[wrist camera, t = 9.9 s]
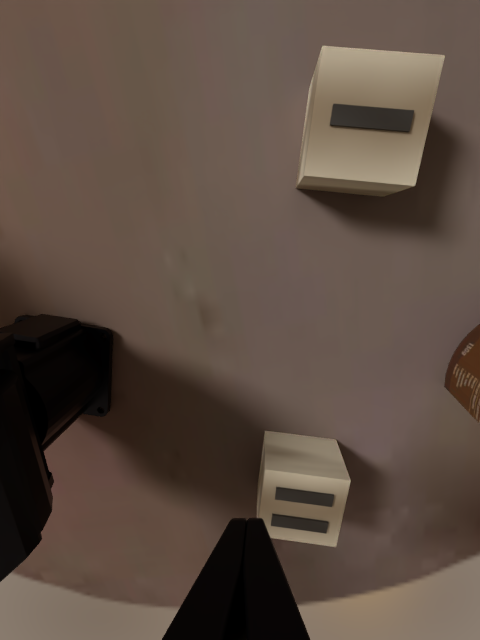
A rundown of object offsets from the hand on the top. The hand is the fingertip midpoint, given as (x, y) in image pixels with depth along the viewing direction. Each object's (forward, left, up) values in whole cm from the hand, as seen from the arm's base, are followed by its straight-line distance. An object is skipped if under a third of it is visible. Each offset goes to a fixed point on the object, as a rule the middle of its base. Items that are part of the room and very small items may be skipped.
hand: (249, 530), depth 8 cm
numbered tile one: (+13, -3, -13) cm, 19 cm away
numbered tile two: (-8, -4, -13) cm, 16 cm away
